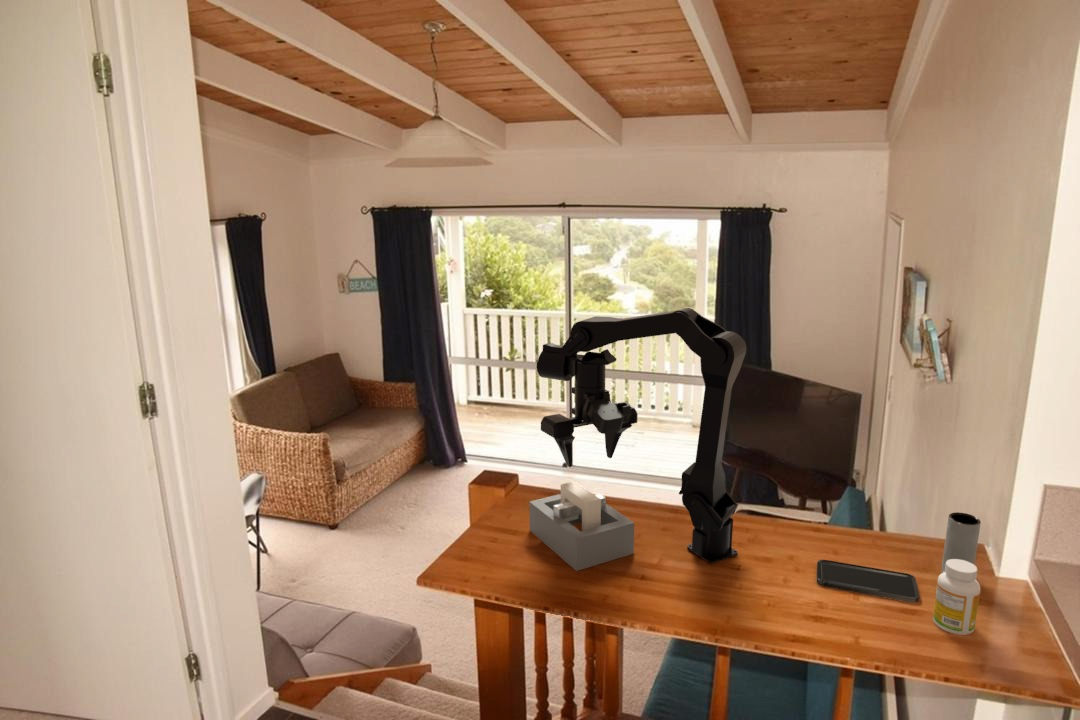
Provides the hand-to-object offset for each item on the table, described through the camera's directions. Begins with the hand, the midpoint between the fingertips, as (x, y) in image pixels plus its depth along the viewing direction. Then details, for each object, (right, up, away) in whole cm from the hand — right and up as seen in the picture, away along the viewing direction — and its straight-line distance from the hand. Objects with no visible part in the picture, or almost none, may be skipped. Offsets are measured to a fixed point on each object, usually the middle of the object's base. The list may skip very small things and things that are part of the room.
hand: (589, 461), depth 136 cm
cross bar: (-2, -8, -8) cm, 11 cm away
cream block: (-2, -11, -7) cm, 13 cm away
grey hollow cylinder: (+60, -16, -19) cm, 65 cm away
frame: (-2, -14, -6) cm, 15 cm away
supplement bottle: (+52, -20, -32) cm, 64 cm away
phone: (+44, -17, -20) cm, 51 cm away
